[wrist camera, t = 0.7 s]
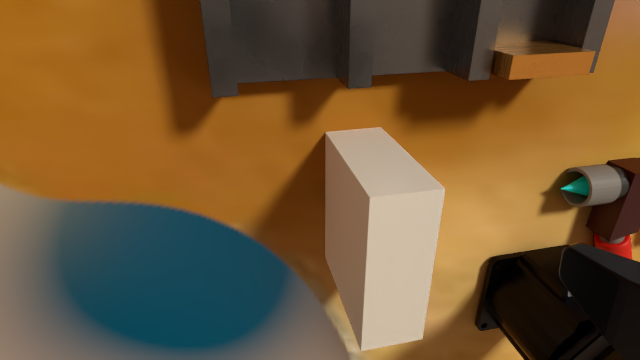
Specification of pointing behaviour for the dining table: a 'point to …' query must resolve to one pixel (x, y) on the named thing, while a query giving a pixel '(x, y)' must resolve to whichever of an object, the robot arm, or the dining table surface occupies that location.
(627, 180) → the toy gun
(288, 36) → the rack
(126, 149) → the dining table surface
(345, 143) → the block
